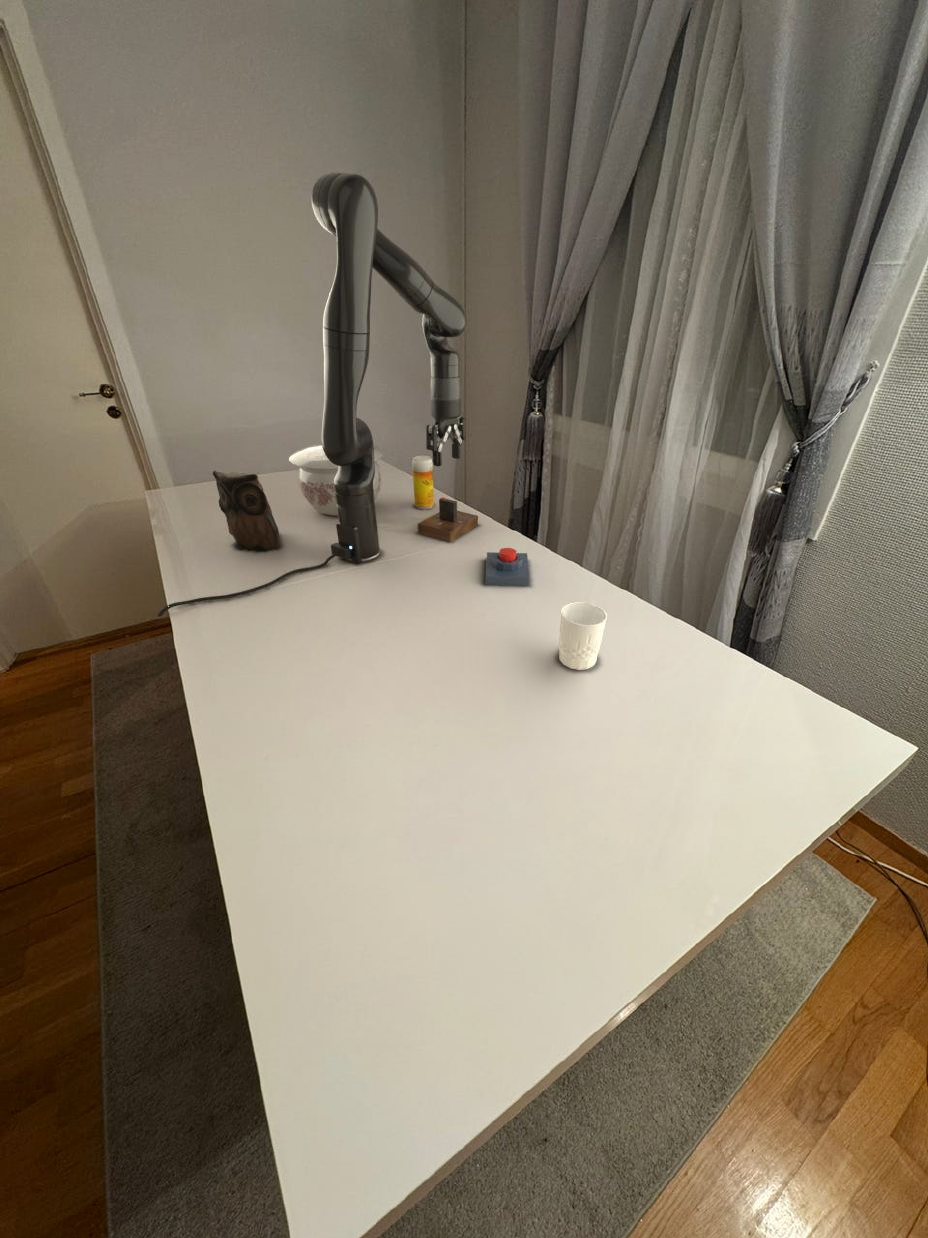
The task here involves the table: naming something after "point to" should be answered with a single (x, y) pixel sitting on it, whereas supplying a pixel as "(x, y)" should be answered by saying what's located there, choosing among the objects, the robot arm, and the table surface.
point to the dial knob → (448, 509)
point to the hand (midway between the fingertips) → (447, 461)
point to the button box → (507, 570)
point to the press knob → (507, 554)
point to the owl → (247, 511)
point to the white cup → (581, 634)
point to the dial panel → (447, 526)
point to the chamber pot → (323, 477)
